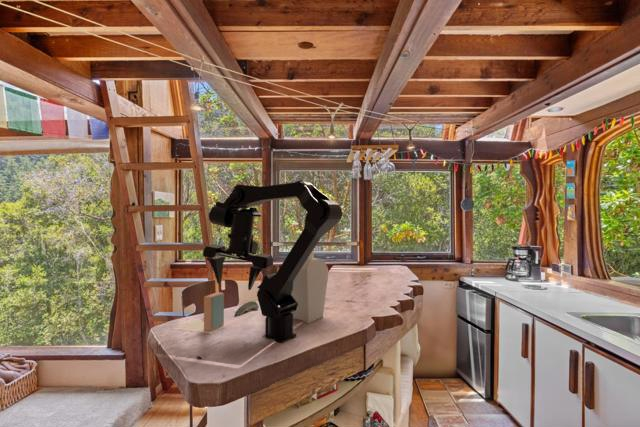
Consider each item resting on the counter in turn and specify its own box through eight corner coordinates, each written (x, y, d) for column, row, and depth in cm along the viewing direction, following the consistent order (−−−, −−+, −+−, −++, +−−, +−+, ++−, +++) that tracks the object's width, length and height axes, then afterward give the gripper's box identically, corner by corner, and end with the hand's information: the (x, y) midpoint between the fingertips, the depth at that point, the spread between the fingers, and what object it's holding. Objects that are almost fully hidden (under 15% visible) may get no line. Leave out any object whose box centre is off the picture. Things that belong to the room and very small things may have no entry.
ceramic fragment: (236, 320, 112) (236, 307, 112) (222, 318, 114) (222, 305, 114) (260, 310, 125) (260, 299, 125) (247, 309, 127) (247, 297, 127)
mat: (229, 326, 105) (229, 324, 105) (210, 335, 96) (210, 333, 96) (193, 322, 109) (194, 320, 109) (172, 331, 100) (172, 328, 100)
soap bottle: (301, 311, 122) (302, 232, 122) (328, 315, 117) (328, 233, 117) (278, 320, 111) (279, 233, 112) (307, 325, 106) (307, 234, 107)
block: (224, 325, 104) (224, 292, 104) (211, 331, 98) (211, 297, 98) (216, 324, 104) (217, 292, 104) (203, 330, 99) (204, 296, 99)
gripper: (283, 233, 108) (275, 286, 109) (224, 223, 112) (218, 274, 113) (269, 237, 97) (261, 296, 98) (205, 226, 101) (198, 282, 102)
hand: (234, 286), depth 103 cm, fingers open, 9 cm apart
